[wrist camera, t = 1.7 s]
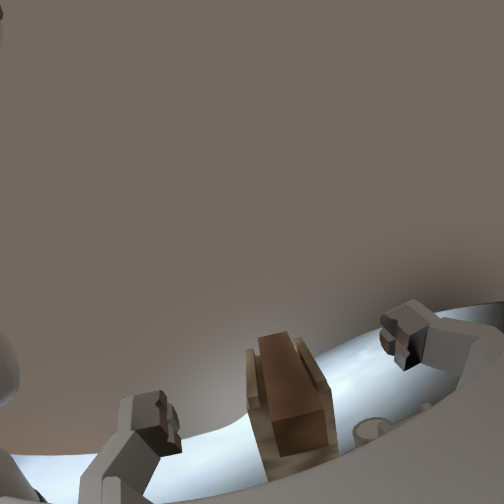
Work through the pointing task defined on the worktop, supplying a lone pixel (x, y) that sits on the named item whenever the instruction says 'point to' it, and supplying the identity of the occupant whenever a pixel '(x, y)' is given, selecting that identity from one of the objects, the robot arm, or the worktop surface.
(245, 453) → the worktop surface
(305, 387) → the walnut bar
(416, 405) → the worktop surface
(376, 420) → the grey brown short cylinder
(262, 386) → the shelf block
